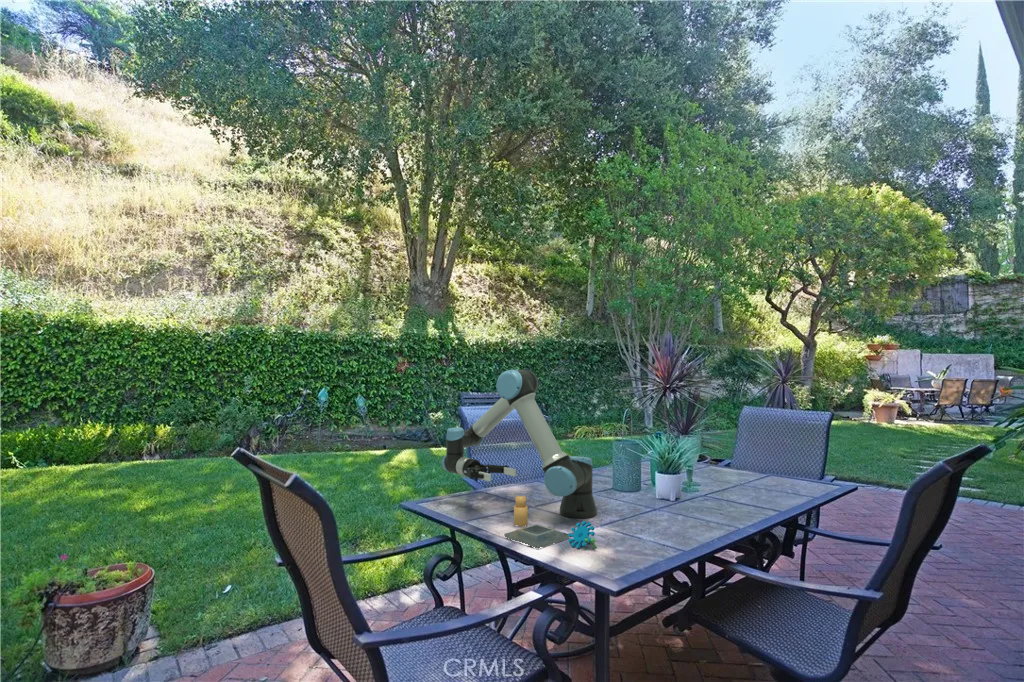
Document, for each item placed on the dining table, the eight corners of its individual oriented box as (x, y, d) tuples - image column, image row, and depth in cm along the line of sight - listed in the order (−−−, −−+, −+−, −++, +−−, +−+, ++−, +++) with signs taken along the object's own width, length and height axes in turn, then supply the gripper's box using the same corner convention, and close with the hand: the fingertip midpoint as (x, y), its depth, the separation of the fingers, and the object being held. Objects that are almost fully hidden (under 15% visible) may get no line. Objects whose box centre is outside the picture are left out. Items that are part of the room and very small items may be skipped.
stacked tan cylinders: (520, 522, 208) (520, 494, 208) (530, 525, 204) (530, 497, 205) (511, 525, 204) (511, 497, 205) (520, 528, 201) (520, 499, 201)
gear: (561, 538, 184) (579, 515, 187) (570, 548, 186) (588, 525, 189) (581, 552, 174) (600, 528, 177) (590, 562, 177) (609, 538, 180)
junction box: (536, 528, 200) (535, 520, 200) (569, 538, 188) (569, 529, 188) (504, 538, 189) (504, 529, 189) (537, 549, 177) (537, 540, 177)
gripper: (491, 472, 236) (525, 480, 221) (445, 480, 219) (478, 490, 203) (491, 455, 236) (525, 461, 221) (445, 462, 219) (479, 470, 204)
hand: (503, 475), depth 212 cm, fingers open, 13 cm apart
